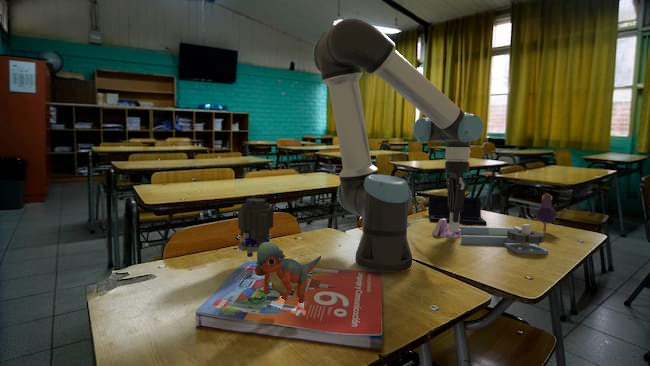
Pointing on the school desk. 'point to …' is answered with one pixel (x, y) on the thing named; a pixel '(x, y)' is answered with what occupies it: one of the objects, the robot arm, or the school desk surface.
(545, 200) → the toy
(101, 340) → the school desk surface
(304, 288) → the toy
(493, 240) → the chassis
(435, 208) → the black laptop
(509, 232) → the wheel
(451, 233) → the letters
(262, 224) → the toy
